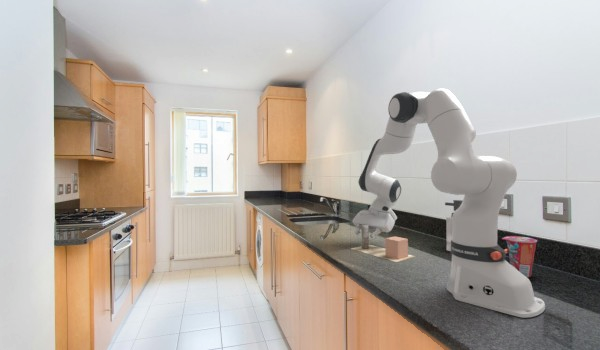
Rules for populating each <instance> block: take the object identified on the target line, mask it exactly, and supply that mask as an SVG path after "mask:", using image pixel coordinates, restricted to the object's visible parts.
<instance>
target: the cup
mask: <svg viewBox="0 0 600 350" xmlns="http://www.w3.org/2000/svg"><path fill="white" fill-rule="evenodd" d="M501 239H502V240H506V245H507V249H508V250H507V252H508V256H509V264H511V265H512V266H513V267H514V268H516V269H517V270H518V271H519V272H520V273H522V274H523V275H524V276H526V277H527V278H531V277H532V272H533V266H534V265H533V264H534V259H535V258H534V257H535V252H536V247H537V246H536V245H537V243H538V239H535V238H532V237H526V236H520V235H519V236H518V235H510V236H509V235H507V236H504V237H502V238H501Z"/></svg>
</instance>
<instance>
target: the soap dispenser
mask: <svg viewBox="0 0 600 350" xmlns="http://www.w3.org/2000/svg"><path fill="white" fill-rule="evenodd" d="M452 201H453V202H447V201H446V202H444V205H445V206H447V207H448V206H451V207H453V212H452V213H451V216H446V219H445V220H446V222H445V224H446V227H445V229H446V233H445V235H446V251H448V252H451V240H452V216H453V213H454V212H455V211H456V210H457V209H458V208H459V207H460V205H461V204H462V202H463V200H460V199H453V200H452Z"/></svg>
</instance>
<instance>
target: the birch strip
mask: <svg viewBox="0 0 600 350" xmlns="http://www.w3.org/2000/svg"><path fill="white" fill-rule="evenodd" d="M360 230H361V245H360V246H355V247H351V248H350V250H354V251H357V252H361V253H365V254H367V255H371V256H375V257H377V258H381V259H384V260H389V261H391V262H395V263H398V262H402V261H405V260H409V259H414V258H416V255H412V254H408V257H406V258H402V259H399V260H398V259H394V258H391V257H387V256H385V248H384V247H380V246H378V245H377V246H376V245H372V244H369V240H370V238H369V237H370V234H369V229H368V225H361V229H360Z"/></svg>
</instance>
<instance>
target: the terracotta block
mask: <svg viewBox="0 0 600 350" xmlns="http://www.w3.org/2000/svg"><path fill="white" fill-rule="evenodd" d="M384 239H385V240H384V241H385V245H384V247H385V256H387V257H391V258H394V259H398V260H399V259H402V258H406V257H408V255H409V239H408V238H404V237H399V236H390V237H385V238H384Z"/></svg>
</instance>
